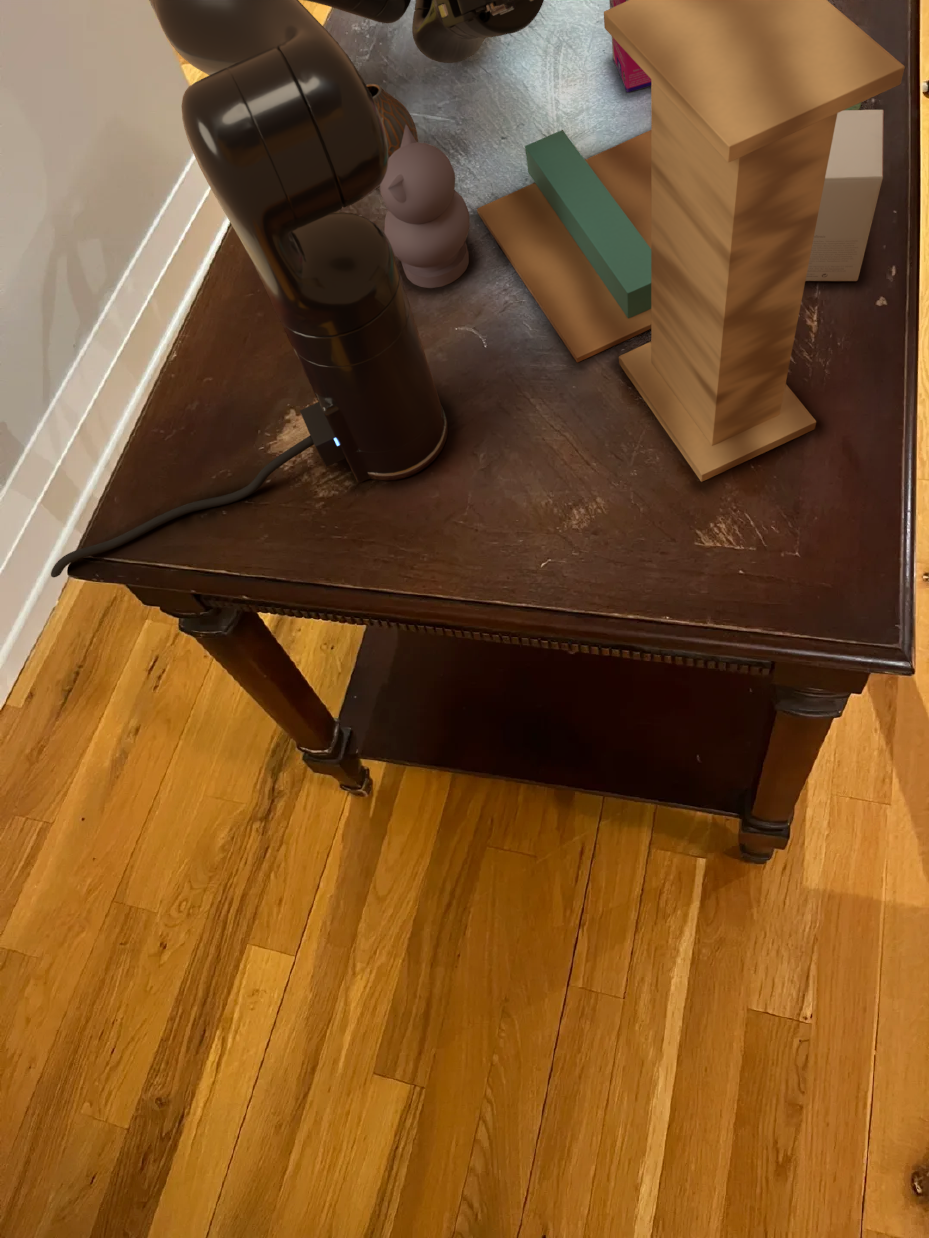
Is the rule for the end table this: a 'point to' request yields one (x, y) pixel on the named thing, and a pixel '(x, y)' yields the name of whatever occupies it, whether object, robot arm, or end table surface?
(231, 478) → the end table surface
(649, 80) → the supplement box
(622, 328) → the flat wooden board
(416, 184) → the cat figurine
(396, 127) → the vase
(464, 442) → the end table surface
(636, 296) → the long green rectangular block
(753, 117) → the wooden pedestal column
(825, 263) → the small box
